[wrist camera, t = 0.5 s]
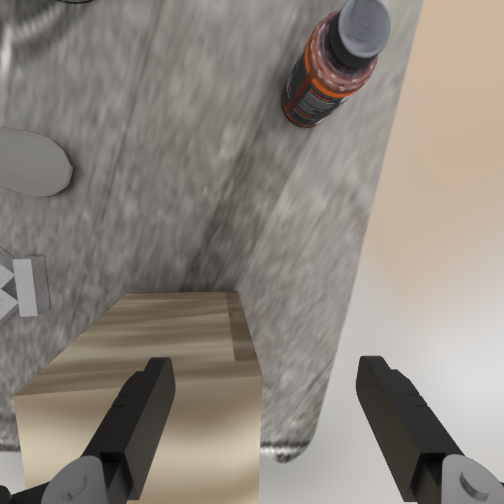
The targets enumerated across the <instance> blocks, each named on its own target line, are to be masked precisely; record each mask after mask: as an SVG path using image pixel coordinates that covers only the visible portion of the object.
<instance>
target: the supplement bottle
mask: <svg viewBox="0 0 504 504" xmlns="http://www.w3.org/2000/svg"><path fill="white" fill-rule="evenodd" d="M390 28H391V25H390V17H389V14H388V11H387V9H386V7H385V5H384V4H383V3H382V2H381V1H380V0H348V1H347V2H346V3H345V4H344V6H343V7H342V9H341V10H338V11H335V12H332V13H330V14H328V15H327V16H326V17H324V18H323V19H322V20H321V21H320V22H319V24H318V25H317V26H316V28H315V29H314V31H313V33H312V34H311V36H310V38H309V40H308V42H307V43H306V45H305V47H304V49H303V51H302V53H301V55H300V57H299V58H298V60H297V62H296V64H295V66H294V68H293V70H292V71H291V73H290V75H289V77H288V79H287V81H286V83H285V86H284V88H283V92H282V104H283V108H284V111H285V113H286V115H287V116H288V118H289V119H290V120H291V121H292V122H294V123H295V124H297V125H299V126H303V127H312V126H315V125H317V124H319V123H320V122H322V121H323V120H324V119H326V118H327V117H328V116H329V115H330V114H331V113H333V112H334V111H335V110H336V109H337V108H338V107H339V106H340V105H342V104H343V103H344V102H345V101H346V100H347V99H349V98H350V97H351V96H352V95H353V94H354V93H355V92H356V91H357V90H359V89H360V88H361V87H362V86H363V85H364V84H365V83H366V82H367V81H368V79H369V78H370V76H371V75H372V73H373V71H374V69H375V66H376V63H377V58H378V54H379V53H380V52H381V51H382V50H383V48H384V47H385V45H386V43H387V41H388V39H389V35H390Z"/></svg>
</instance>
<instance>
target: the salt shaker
mask: <svg viewBox="0 0 504 504" xmlns="http://www.w3.org/2000/svg"><path fill="white" fill-rule="evenodd" d="M72 172H73V167H72V166H71V164H70V162H69V160H68V158H67V156H66V154H65V152H64V150H62V149H61V148H60V147H59V146H58V145H57V144H56V143H55V142H53V141H52V140H51V139H50V138H47V137H45V136H42V135H39V134H36V133H33V132H28V131H22V130H17V129H11V128H5V127H0V186H1V187H4V188H7V189H10V190H13V191H16V192H19V193H22V194H25V195H28V196H31V197H43V196H52V195H54V194H56V193H58V192H59V191H61V190H63V189H64V188H66V187H67V186H69V184H70V180H71V176H72Z"/></svg>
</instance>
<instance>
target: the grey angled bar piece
mask: <svg viewBox="0 0 504 504" xmlns="http://www.w3.org/2000/svg"><path fill="white" fill-rule="evenodd" d="M49 309H50V300H49V291H48V282H47V273H46V264H45V256H25V257H21V258H16V259H15V258H13V257H12V256H11V255H10V254H8V253H7V252H6V251H4V250H3V249H2V248H1V247H0V327H1V326H2V325H3V324H4V323H5V322H6V321H7V320H8V319H9V318H10V317H12V316H13V315H14V314H15V313H16V312H17V311H18V310H19V312H20V317H24V316H38V315H40V314H42V313H44V312H45V311H47V310H49Z"/></svg>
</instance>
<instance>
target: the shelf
mask: <svg viewBox="0 0 504 504" xmlns="http://www.w3.org/2000/svg"><path fill="white" fill-rule="evenodd" d="M152 357H170V358H171V361H172V367H173V372H174V378H175V385H176V389H175V397H174V401H173V404H172V406H171V409H170V412H169V415H168V418H167V421H166V424H165V427H164V430H163V433H162V435H161V438H160V441H159V444H158V447H157V450H156V453H155V456H154V459H153V462H152V464H151V467H150V470H149V473H148V476H147V479H146V482H145V485H144V488H143V491H142V493H141V496H140V499H139V500H128V501H127V503H126V504H258V488H259V487H258V486H259V485H258V484H259V459H260V430H261V401H262V373H261V370H260V366H259V363H258V359H257V356H256V353H255V349H254V346H253V342H252V339H251V336H250V332H249V329H248V325H247V322H246V319H245V315H244V312H243V308H242V305H241V302H240V298H239V295H238V291H219V292H179V293H138V294H125V295H124V296H123V297H122V298H121V299H120V300H119V301H117V302H116V303H115V304H114V305H113V306H112V307H111V308H110V309H109V310H108V311H106V312H105V313H104V314H103V315H102V316H101V317H100V318H99V319H98V320H97V321H95V322H94V323H93V324H92V325H91V326H90V327H89V328H88V329H87V330H86V331H84V332H83V333H82V334H81V335H80V336H79V337H78V338H77V339H76V340H75V341H73V342H72V343H71V344H70V345H69V346H68V347H67V348H66V349H65V350H64V351H62V352H61V353H60V354H59V355H58V356H57V357H56V358H55V359H54V360H53V361H51V362H50V363H49V364H48V365H47V366H46V367H45V368H44V369H43V370H41V371H40V372H39V373H38V374H37V375H36V376H35V377H34V378H33V379H32V380H30V381H29V382H28V383H27V384H26V385H25V386H24V387H23V388H22V389H21V390H19V391H18V392H17V393H16V394H15V395H14V396H13V398H14V405H15V412H16V419H17V425H18V432H19V439H20V446H21V453H22V460H23V467H24V473H25V480H26V487H27V489H30V488H33V487H35V486H38V485H41V484H44V483H46V482H49V481H51V480H52V479H53V478H54V476H55V475H56V474H57V473H58V472H59V471H60V470H61V469H62V468H64V467H65V466H66V465H67V464H69V463H70V462H72V461H74V460H76V459H78V458H79V457H80V456H81V455H82V453H83V452H84V450H85V449H86V447H87V445H88V444H89V442H90V440H91V439H92V437H93V435H94V434H95V432H96V430H97V429H98V427H99V425H100V424H101V422H102V420H103V418H104V417H105V415H106V413H107V412H108V410H109V408H111V405H112V403H113V402H114V400H115V398H116V397H118V393H119V392H120V390H121V388H122V387H123V385H124V383H125V382H126V381H127V380H128V379H129V378H130V377H131V376H132V375H133V374H134V373H135V372H136V371H144V369H145V367H146V365H147V363H148V361H149V360H150V358H152Z"/></svg>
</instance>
